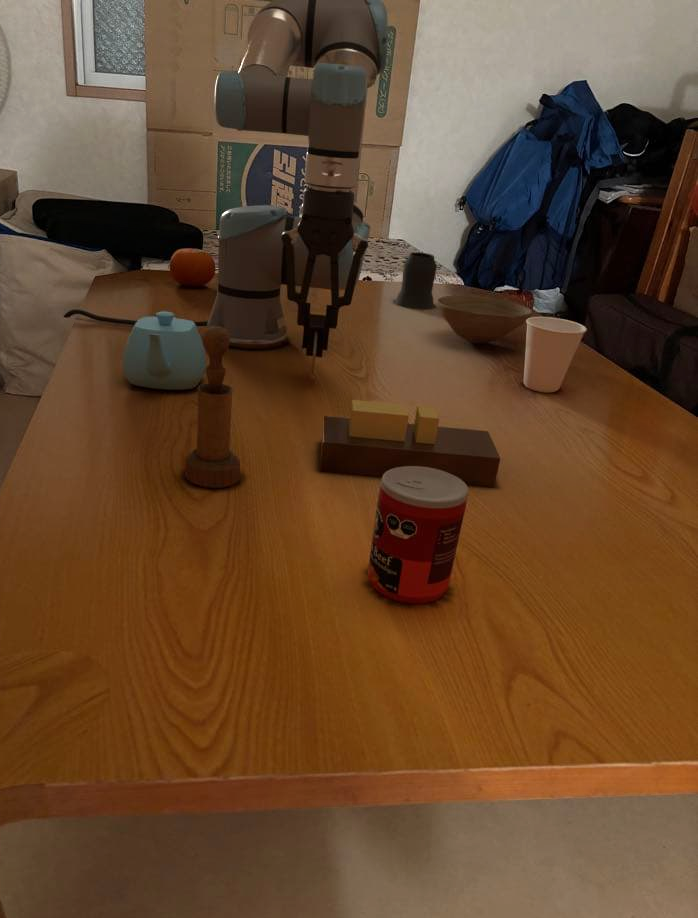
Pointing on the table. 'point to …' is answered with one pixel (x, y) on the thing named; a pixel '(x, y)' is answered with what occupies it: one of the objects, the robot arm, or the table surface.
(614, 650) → the table surface
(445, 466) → the board
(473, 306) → the bowl
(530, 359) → the cup
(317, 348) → the knife
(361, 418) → the butter
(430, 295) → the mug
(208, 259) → the fruit
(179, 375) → the teapot
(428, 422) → the butter slice
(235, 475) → the mortar and pestle
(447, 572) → the canned food
